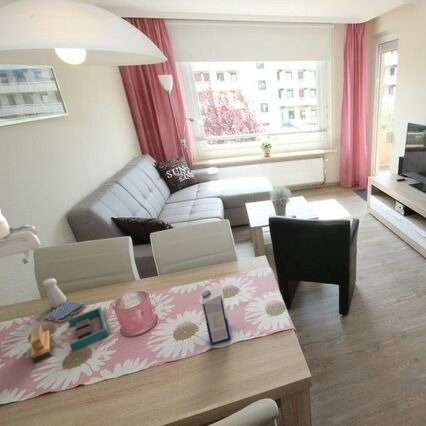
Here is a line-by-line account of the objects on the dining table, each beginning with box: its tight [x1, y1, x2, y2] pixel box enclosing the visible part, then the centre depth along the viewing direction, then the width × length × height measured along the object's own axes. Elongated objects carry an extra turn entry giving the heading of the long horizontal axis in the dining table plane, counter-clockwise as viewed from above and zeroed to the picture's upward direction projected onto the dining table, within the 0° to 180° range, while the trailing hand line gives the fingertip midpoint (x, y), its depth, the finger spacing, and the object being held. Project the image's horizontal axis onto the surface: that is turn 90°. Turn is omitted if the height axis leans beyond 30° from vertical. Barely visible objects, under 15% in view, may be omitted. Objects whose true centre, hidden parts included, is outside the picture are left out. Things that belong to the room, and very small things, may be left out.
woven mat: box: [43, 300, 86, 323], centre depth 123 cm, size 10×11×2 cm
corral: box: [67, 306, 109, 352], centre depth 113 cm, size 11×18×3 cm, turn 41°
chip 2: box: [76, 326, 93, 340], centre depth 110 cm, size 4×4×2 cm
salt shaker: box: [42, 277, 67, 309], centre depth 126 cm, size 6×6×13 cm
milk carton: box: [201, 283, 232, 346], centre depth 104 cm, size 7×7×20 cm
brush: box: [30, 325, 52, 363], centre depth 104 cm, size 4×12×7 cm, turn 41°
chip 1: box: [75, 319, 92, 332], centre depth 114 cm, size 4×4×2 cm
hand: (8, 267), depth 103 cm, fingers open, 8 cm apart
